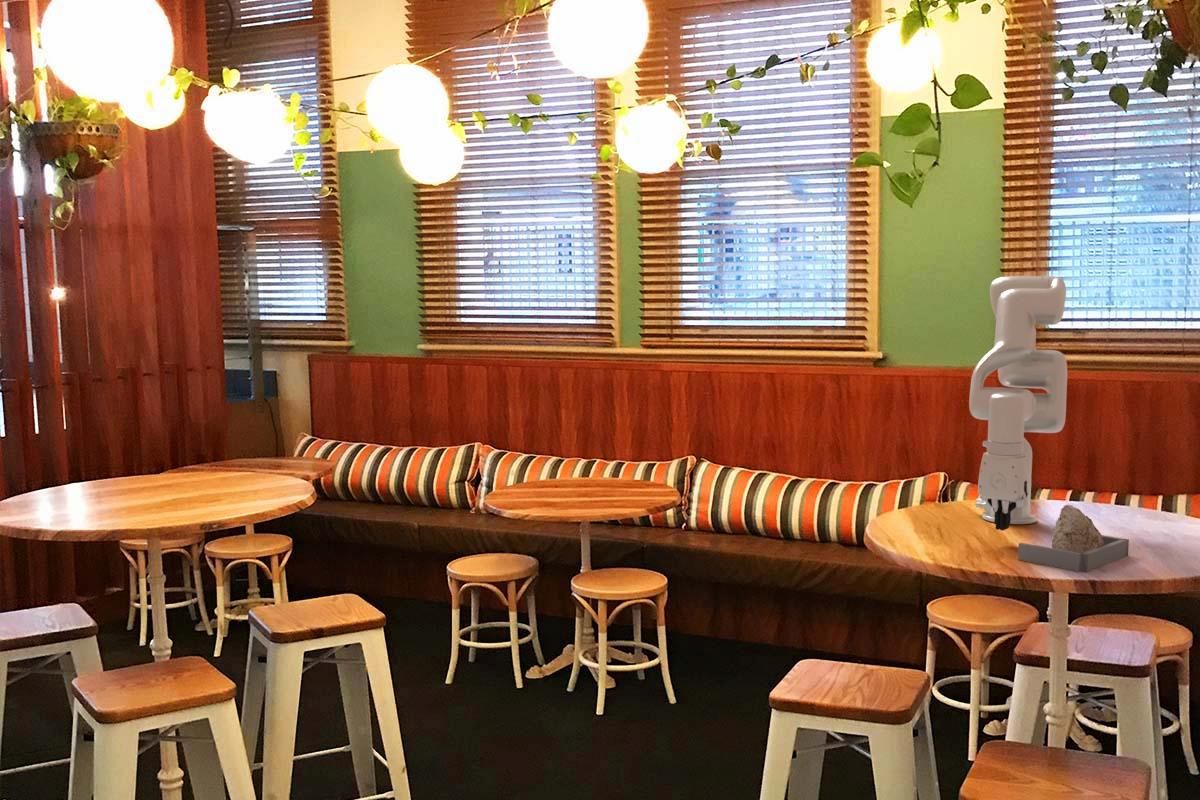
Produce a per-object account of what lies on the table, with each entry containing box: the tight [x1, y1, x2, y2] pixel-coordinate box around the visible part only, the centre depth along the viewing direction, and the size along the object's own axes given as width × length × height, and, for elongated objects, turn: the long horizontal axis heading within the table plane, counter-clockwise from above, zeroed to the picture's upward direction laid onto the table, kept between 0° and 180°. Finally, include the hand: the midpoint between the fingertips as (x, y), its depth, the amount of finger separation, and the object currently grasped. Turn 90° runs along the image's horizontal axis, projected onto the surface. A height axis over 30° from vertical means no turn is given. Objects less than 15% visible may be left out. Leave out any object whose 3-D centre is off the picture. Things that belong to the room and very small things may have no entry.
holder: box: [1017, 534, 1130, 573], centre depth 247 cm, size 14×21×4 cm, turn 133°
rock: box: [1051, 504, 1104, 553], centre depth 249 cm, size 14×10×8 cm
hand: (1002, 528), depth 260 cm, fingers closed
